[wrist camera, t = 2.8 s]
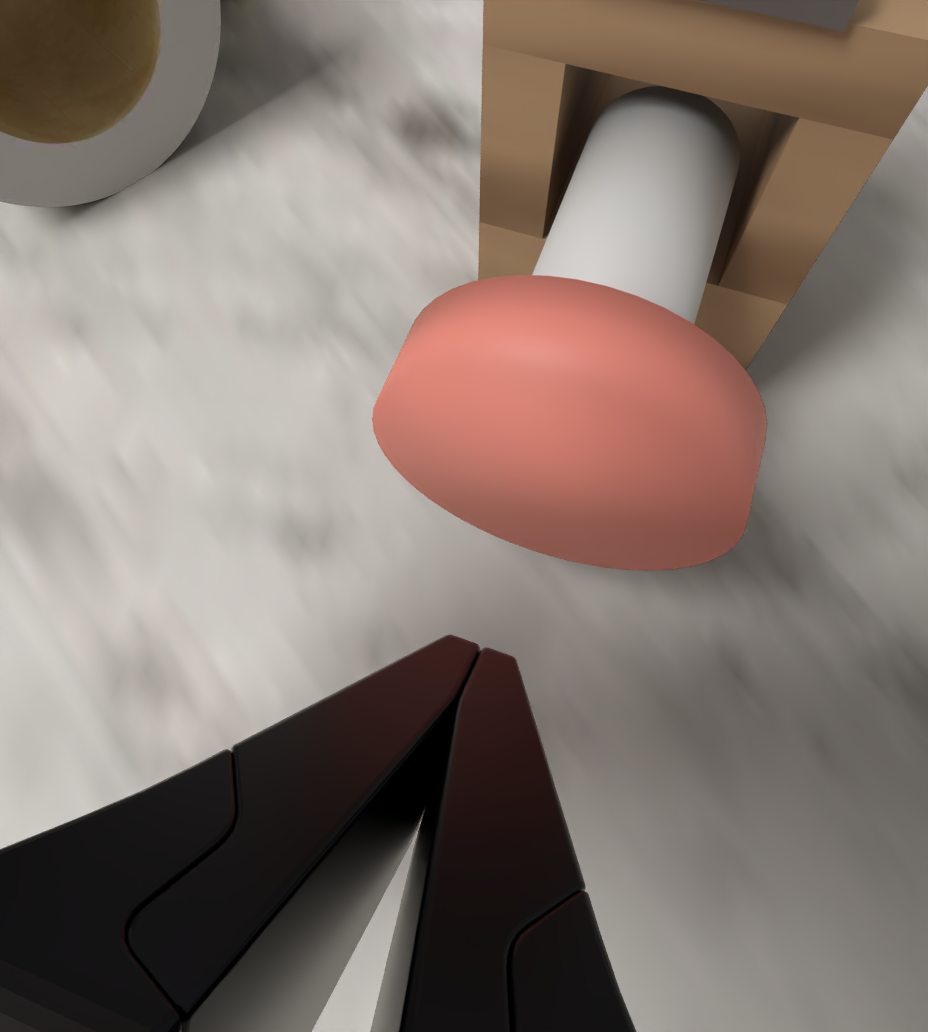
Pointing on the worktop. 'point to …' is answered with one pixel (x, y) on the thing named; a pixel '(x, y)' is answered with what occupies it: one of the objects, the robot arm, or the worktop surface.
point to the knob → (594, 364)
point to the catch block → (734, 89)
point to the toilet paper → (98, 92)
